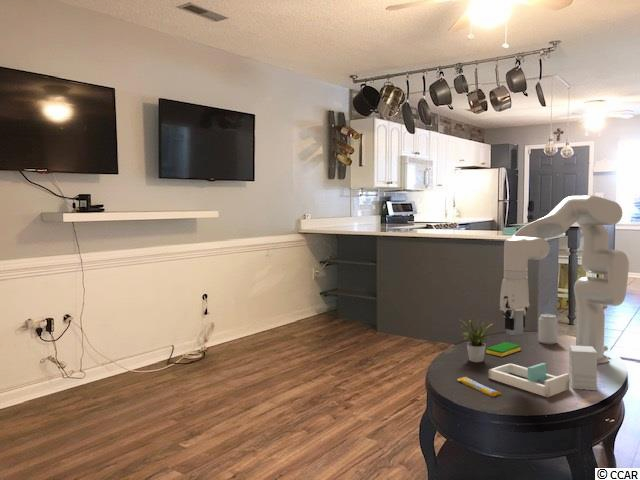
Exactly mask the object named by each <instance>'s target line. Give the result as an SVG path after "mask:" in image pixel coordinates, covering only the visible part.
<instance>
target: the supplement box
mask: <svg viewBox="0 0 640 480" xmlns="http://www.w3.org/2000/svg"><path fill="white" fill-rule="evenodd" d="M568 351H569V353H568V354H569V356H568V357H569V361H568V363H569V367H568V374H569V385H570V386H571V389H573V390H583V389H585V390H584V391H597V387H598V386H597V385H598V384H597V383H598V378H597V377H598V364H597V352H596V351H595V349H594V348H593V347H592V346H576V345H575V344H574V345H571V344H570V345H569V350H568Z"/></svg>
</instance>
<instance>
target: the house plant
mask: <svg viewBox="0 0 640 480" xmlns="http://www.w3.org/2000/svg"><path fill="white" fill-rule="evenodd" d="M457 320H459V321H461V322H462V323H464V324H462V323H461V326H460V327H461V328H463V329H464V330H465V331H466V332H463V334H462V335H464V337H463V340H468V341H469V342H467V343H466V348H467V355H468V360H469V362H473V363H482V362H483V361H484V357H485V351H486V348H487V347H486V345H487V344H486V343H485V342H486V341H485V340H486V339H488V338H489V334H484V333H485V332H486V330H488V329H489V327H491V326H492V325H493V324H494V323H491V324H488V326H485V327H484V322H480V323H482V324H481V326H480V328H479V331H478V327H479V324H480V323H479V324H476V327H475V326H474V324H473V322H472V320H471V319H469V320H468V322H469V324H470V327H471V329H470V328H469V326H468V324H467V322H465V321H463V320H462V319H457ZM479 320H480V318H478V320H477V322H476V323H478V322H479ZM462 325H463V326H462ZM465 327H466V328H465ZM486 336H487V337H486Z"/></svg>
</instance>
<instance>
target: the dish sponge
mask: <svg viewBox="0 0 640 480" xmlns="http://www.w3.org/2000/svg"><path fill="white" fill-rule="evenodd" d="M485 351H486V354H489V355H493V356H498V357H505V356H508V355H510V354H513V353H516V352H520V351H521V345H520V344H516V343H510V342H507V341H504V342H501V343H498V344H496V345H492V346H489V347H485Z"/></svg>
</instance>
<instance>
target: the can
mask: <svg viewBox="0 0 640 480" xmlns="http://www.w3.org/2000/svg"><path fill="white" fill-rule="evenodd" d="M558 325H559V319H558V318H557V315H555V314H551V313H542V314H540V316H539V317H538V338H537V339H538V342H540V343H541V344H544V345H555V344H556V343H558V338H559V337H558V333H559V331H558V330H559V327H558Z"/></svg>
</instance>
